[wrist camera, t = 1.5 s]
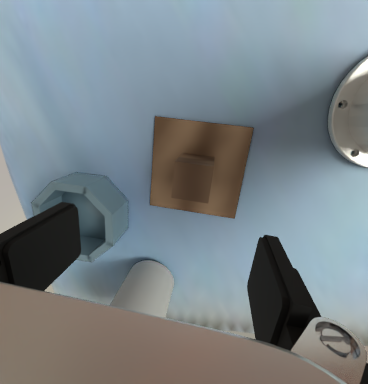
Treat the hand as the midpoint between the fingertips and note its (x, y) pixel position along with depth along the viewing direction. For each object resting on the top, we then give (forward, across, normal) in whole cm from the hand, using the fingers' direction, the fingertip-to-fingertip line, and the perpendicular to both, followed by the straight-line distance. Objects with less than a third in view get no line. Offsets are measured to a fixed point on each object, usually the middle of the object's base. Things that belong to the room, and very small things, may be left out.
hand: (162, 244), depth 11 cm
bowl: (+18, +15, +8) cm, 25 cm away
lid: (+19, 0, 0) cm, 19 cm away
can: (+18, +5, +19) cm, 27 cm away
